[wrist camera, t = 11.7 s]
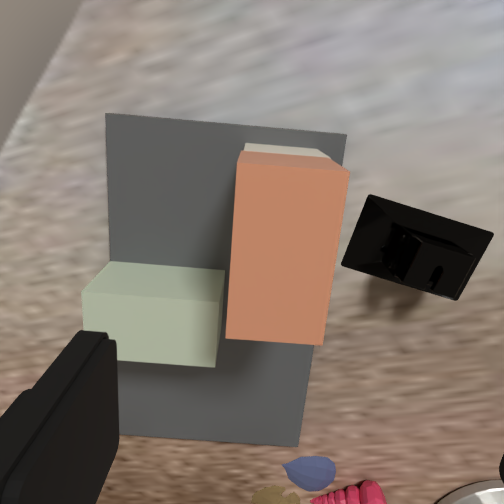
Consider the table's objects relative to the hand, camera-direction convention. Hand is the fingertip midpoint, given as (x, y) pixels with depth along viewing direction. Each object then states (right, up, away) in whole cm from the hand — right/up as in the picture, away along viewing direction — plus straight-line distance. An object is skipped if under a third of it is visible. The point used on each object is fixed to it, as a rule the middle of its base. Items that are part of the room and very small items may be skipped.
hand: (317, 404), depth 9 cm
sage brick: (-8, 0, +20) cm, 21 cm away
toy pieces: (+5, -19, +28) cm, 34 cm away
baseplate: (-4, 0, +21) cm, 21 cm away
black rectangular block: (+10, +4, +20) cm, 23 cm away
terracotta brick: (0, +5, +13) cm, 14 cm away
